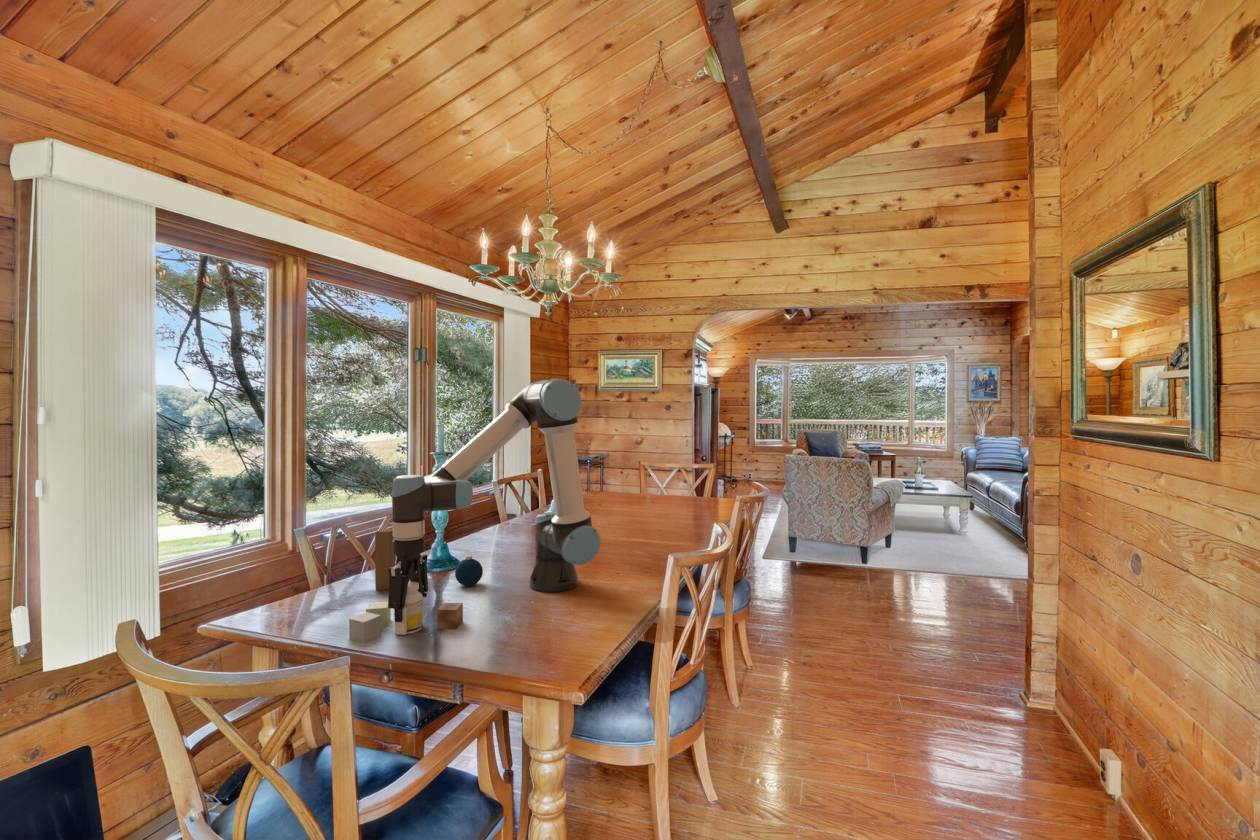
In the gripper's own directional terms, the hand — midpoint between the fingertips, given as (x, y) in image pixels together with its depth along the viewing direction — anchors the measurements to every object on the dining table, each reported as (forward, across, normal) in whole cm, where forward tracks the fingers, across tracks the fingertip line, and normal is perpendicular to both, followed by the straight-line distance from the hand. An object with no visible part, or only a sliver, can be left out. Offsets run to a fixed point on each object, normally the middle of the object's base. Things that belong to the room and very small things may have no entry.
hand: (409, 628), depth 143 cm
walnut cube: (+1, -5, +8) cm, 10 cm away
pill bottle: (+1, 0, 0) cm, 1 cm away
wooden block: (+1, -29, -24) cm, 38 cm away
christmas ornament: (+1, -36, -2) cm, 36 cm away
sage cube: (+1, -2, -10) cm, 10 cm away
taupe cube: (+1, +6, -8) cm, 10 cm away
